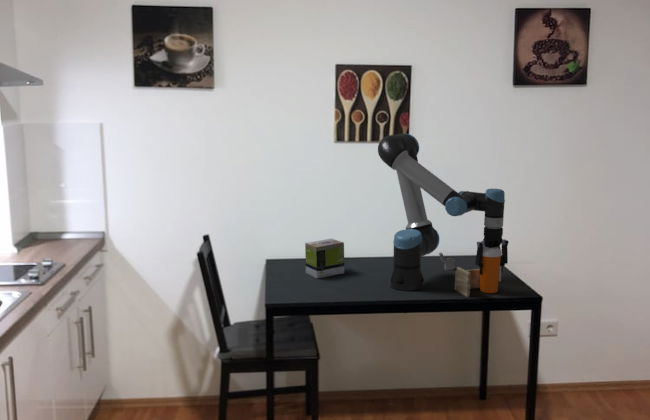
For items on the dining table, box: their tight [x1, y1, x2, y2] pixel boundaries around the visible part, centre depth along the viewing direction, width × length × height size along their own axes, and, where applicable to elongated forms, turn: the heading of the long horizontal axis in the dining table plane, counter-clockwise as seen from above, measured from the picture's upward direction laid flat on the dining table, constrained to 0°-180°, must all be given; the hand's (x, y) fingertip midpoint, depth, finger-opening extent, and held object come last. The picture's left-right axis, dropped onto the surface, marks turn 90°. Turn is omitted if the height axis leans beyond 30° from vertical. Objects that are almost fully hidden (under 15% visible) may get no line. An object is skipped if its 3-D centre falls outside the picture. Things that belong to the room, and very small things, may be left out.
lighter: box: [438, 252, 455, 271], centre depth 299 cm, size 7×2×8 cm, turn 94°
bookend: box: [454, 266, 480, 298], centre depth 266 cm, size 14×10×10 cm
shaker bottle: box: [479, 244, 502, 294], centre depth 266 cm, size 9×9×20 cm
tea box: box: [304, 238, 345, 279], centre depth 290 cm, size 15×10×15 cm, turn 123°
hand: (490, 281), depth 267 cm, fingers open, 6 cm apart
